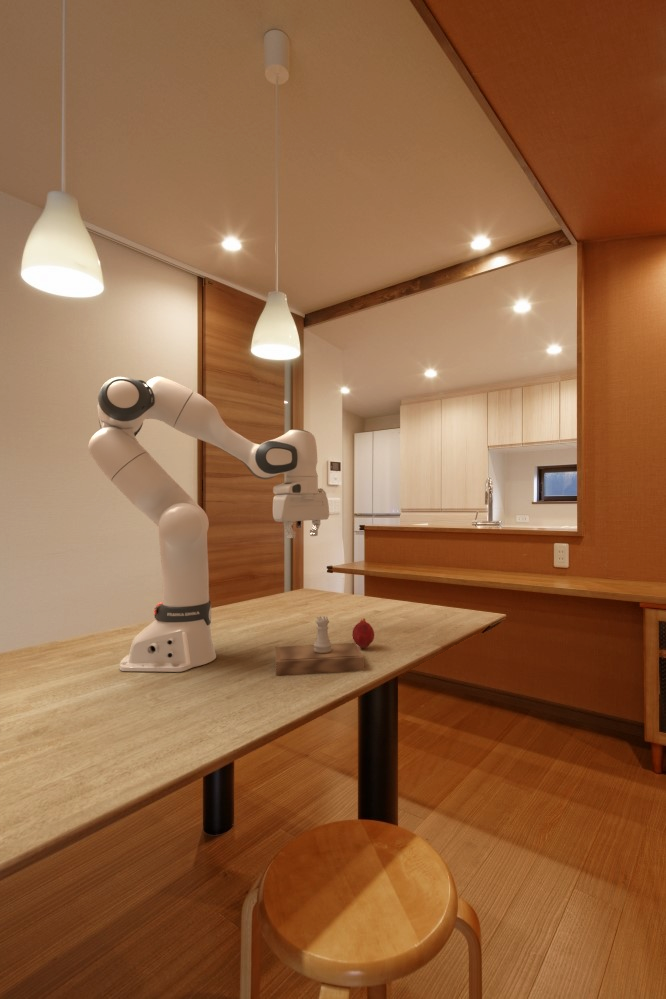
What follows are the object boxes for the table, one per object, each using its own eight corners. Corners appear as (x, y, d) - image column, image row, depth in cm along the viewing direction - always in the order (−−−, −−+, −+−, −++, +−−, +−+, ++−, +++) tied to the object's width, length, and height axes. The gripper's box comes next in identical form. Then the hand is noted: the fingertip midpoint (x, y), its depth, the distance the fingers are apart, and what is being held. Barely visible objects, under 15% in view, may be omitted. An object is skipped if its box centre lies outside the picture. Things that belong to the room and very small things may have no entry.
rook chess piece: (326, 654, 115) (326, 620, 115) (310, 652, 117) (309, 618, 117) (335, 649, 119) (334, 616, 119) (319, 647, 121) (318, 614, 121)
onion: (375, 651, 127) (374, 620, 127) (352, 652, 127) (352, 620, 127) (373, 645, 133) (373, 615, 133) (352, 645, 133) (351, 615, 133)
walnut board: (275, 675, 111) (275, 661, 111) (275, 658, 123) (275, 646, 123) (363, 670, 113) (363, 656, 113) (355, 654, 125) (355, 642, 125)
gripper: (317, 488, 149) (318, 534, 149) (268, 487, 133) (269, 539, 133) (333, 488, 145) (334, 535, 145) (285, 486, 129) (286, 539, 129)
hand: (303, 537), depth 139 cm, fingers open, 8 cm apart
